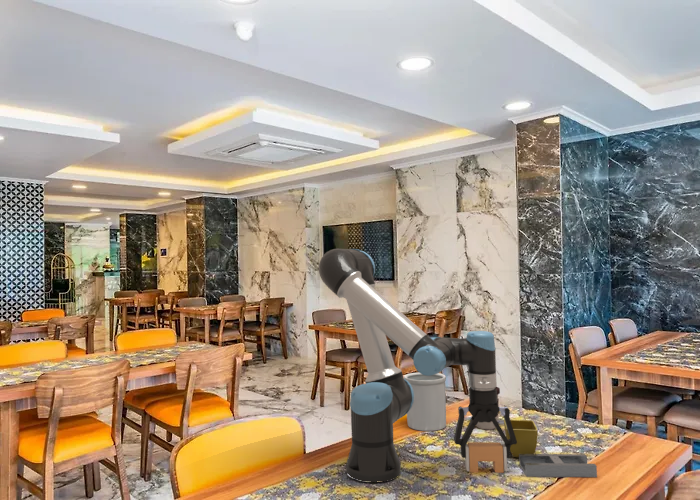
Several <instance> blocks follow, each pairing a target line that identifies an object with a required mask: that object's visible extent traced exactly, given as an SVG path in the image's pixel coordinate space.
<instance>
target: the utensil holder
mask: <svg viewBox="0 0 700 500" xmlns="http://www.w3.org/2000/svg"><path fill="white" fill-rule="evenodd" d="M403 377H404V379H405V380H407V381H408V382H409V383H410V384H411V386H412V388H413V391H414V402H413V405H412V407H411V409H410V410H409V411H408V413H407V414H406V420H407V426H408V427H409V428H410V429H413V430H416V431H421V432H431V431H440V430H442V429H444V428H446V426H447V403H446V400H447V399H446V398H447V397H446V395H447V394H446V380H447V376H446V375H445V374H443V373H441V372H439V373H438V374H435V375H431V376H426V375H423V374H421V373H419V372H418V371H417V372H412V373H411V372H410V373H407V374H405V375H403Z"/></svg>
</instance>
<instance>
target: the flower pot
mask: <svg viewBox="0 0 700 500" xmlns="http://www.w3.org/2000/svg"><path fill="white" fill-rule="evenodd" d="M510 421H511V424H512V427H513V431H514V434H515V437H516V440H517V444H513V445H511V447H510V455H512V457H513V458H519V454H536V450H537V446H538V445H537V444H538V434H539V433H538V432H539V431H538V430H539V429H538V427H537V425H536V423H535V421H534V420H528V419H527V420H524V419H523V420H522V419H510ZM503 424H504V425H503V426H504V434H505V436H506V438H507V439H510V436H509V433H508V430H507V426H506V423H505V420H504V419H503Z"/></svg>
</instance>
